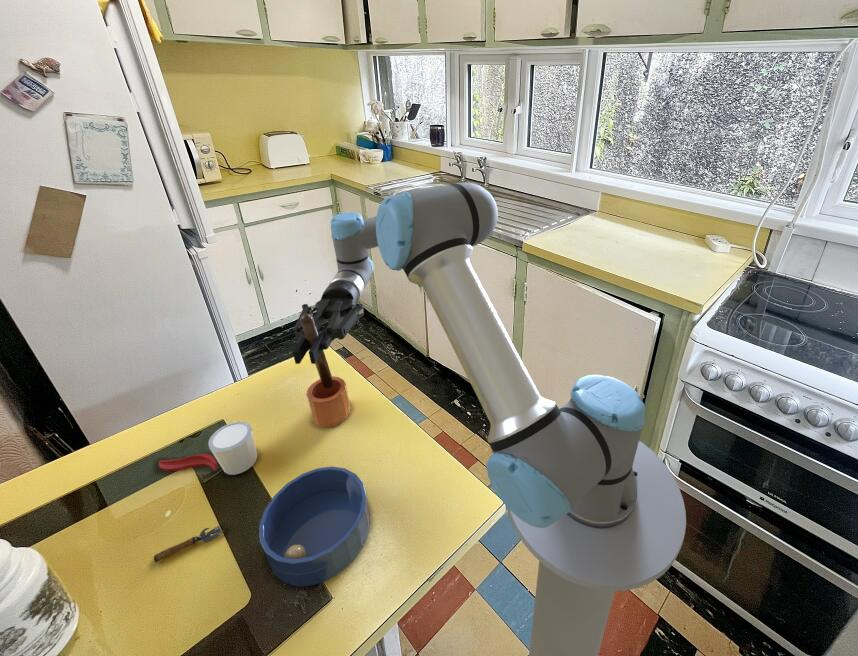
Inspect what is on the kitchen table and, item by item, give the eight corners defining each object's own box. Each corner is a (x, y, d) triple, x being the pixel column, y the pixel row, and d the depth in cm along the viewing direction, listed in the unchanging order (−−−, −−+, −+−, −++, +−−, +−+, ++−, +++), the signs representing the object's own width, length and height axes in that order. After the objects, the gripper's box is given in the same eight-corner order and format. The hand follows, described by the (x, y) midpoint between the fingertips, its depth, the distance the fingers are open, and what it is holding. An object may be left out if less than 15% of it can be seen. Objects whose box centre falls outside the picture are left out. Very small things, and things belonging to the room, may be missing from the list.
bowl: (384, 496, 72) (380, 473, 69) (343, 595, 58) (336, 571, 56) (304, 483, 74) (297, 461, 71) (246, 577, 60) (235, 553, 58)
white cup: (210, 472, 76) (198, 446, 72) (240, 443, 81) (230, 417, 78) (240, 482, 74) (229, 455, 71) (269, 451, 80) (260, 425, 77)
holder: (356, 402, 92) (351, 378, 88) (339, 429, 85) (334, 404, 82) (324, 398, 93) (318, 374, 89) (305, 424, 86) (299, 399, 83)
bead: (308, 544, 61) (302, 569, 59) (308, 545, 63) (301, 569, 62) (287, 542, 60) (280, 567, 59) (287, 544, 63) (280, 568, 61)
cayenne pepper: (226, 460, 78) (223, 453, 77) (205, 482, 74) (201, 475, 73) (175, 447, 80) (172, 440, 80) (152, 467, 76) (148, 460, 76)
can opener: (155, 564, 61) (152, 560, 61) (157, 550, 63) (155, 545, 63) (225, 536, 65) (223, 532, 65) (225, 523, 67) (223, 519, 67)
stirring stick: (336, 383, 88) (313, 312, 76) (331, 391, 86) (307, 319, 74) (326, 381, 88) (302, 310, 76) (321, 389, 86) (296, 318, 75)
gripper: (377, 307, 98) (349, 373, 77) (313, 307, 97) (266, 374, 76) (374, 279, 94) (343, 341, 73) (307, 279, 94) (256, 341, 73)
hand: (304, 357), depth 75 cm, fingers closed on stirring stick, 2 cm apart
